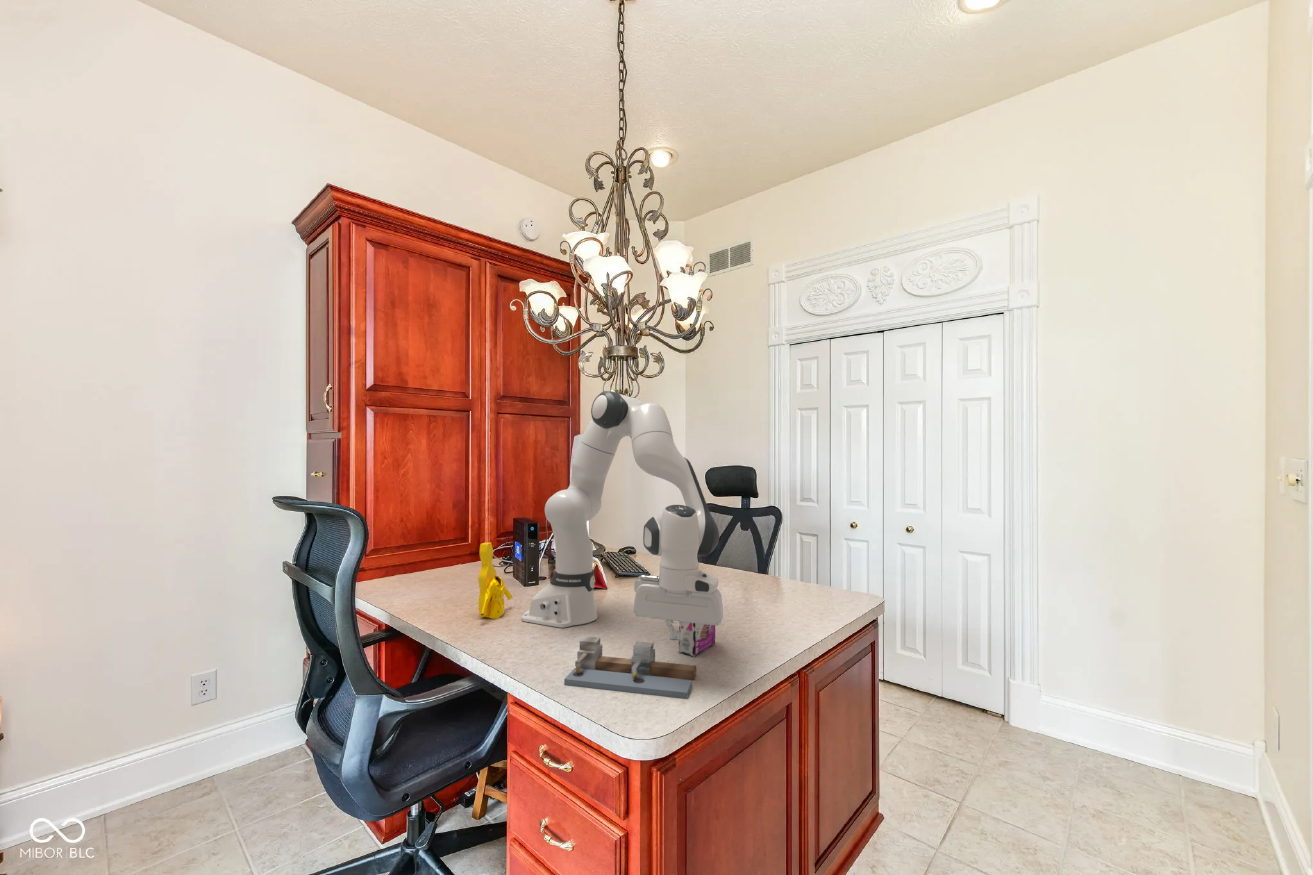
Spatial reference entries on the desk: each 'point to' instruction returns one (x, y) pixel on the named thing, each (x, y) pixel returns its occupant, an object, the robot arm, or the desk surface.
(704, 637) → the candy bar box
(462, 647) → the desk surface
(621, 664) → the rail
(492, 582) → the figure statuette
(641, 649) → the sliding jaw
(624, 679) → the flange plate
